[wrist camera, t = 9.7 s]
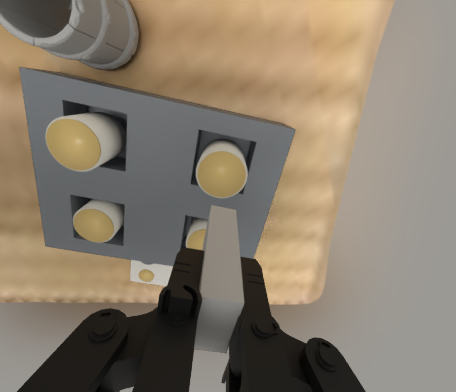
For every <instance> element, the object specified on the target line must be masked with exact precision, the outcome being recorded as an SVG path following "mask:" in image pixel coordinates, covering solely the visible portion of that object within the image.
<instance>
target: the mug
mask: <svg viewBox="0 0 456 392" xmlns="http://www.w3.org/2000/svg"><path fill="white" fill-rule="evenodd" d="M0 23H1V24H2V26H3V27H4V28H5V29H6V30H7V31H9V32H10V33H11V34H12V35H14V36H15V37H17V38H18V39H20V40H22V41H24V42H26V43H28V44H31V45H34V46H37V47H40V48H42V49H44V50H46V51H48V52H49V53H51V54H53V55H56V56H58V57H61V58H65V59H70V60H79V61H80V62H82V63H84V64H86V65H88V66H90V67H93V68H96V69H102V70H110V69H116V68H118V67H120V66H122V65H124V64H126V63H127V62H128V61H129V60H130V59H131V56H132V55H134V54H135V52H136V49H137V45H138V39H139V30H138V24H137V20H136V17H135V14H134V12H133V9H132V7H131V5H130V3H129V1H128V0H0Z"/></svg>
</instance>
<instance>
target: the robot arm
mask: <svg viewBox="0 0 456 392" xmlns="http://www.w3.org/2000/svg"><path fill="white" fill-rule="evenodd" d="M264 284H265V283H264V278H263V273H262V268H261V266H260V265H259V263H258V262H257V260H256V259H252V258H246V257H241V256H240V248H239V237H238V226H237V214H236V210H234V209H229V208H224V207H219V206H214V205H211V209H210V214H209V218H208V223H207V228H206V232H205V237H204V241H203V247H202V250H197V249H192V248H186V247H183V248H182V249H181V250H180V251H179V252H178V253H177V255H176V259H175V262H174V265H173V268H172V272H171V275H170V278H169V281H168V285H167V286H166V287H164V288H163V290H162V291H161V293H160V295H159V302H158V307H157V308H156V309H154V310H153V311H151V312H149V313H147V314H143V315H138V316H132V317H126V315H125V314H124V313H123V312H121V311H120V310H116V309H104V310H100V311H98V312H95V313H93V314H91V315H90V316H89V317H87V318H86V319H85V320H84V321H83V322H82V323H81V324H80V325H79V326H78V327H77V328H76V329H75V330H74V331H73V332H72V333H71V335H69V337H68V338H67V339H66V340H65V341H64V342H63V343H62V344H61V345H60V346H59V347H58V348H57V350H56V351H55V352H54V353H53V354H52V355H51V356H50V357H49V358H48V359H47V360H46V361H45V362H44V363H43V364H42V365H41V366H40V368H39V369H38V370H37V371H36V372H35V373H34V374H33V375H32V376H31V377H30V378H29V379H28V380H27V381H26V382H25V383H24V385H23V386H22V387H21V388H20V389H19V390H18V391H17V392H119V391H120V390H122V389H126V388H130V387H133V386H134V388H133V391H132V392H189V385H190V377H191V370H192V361H193V352H194V349H197V350H205V351H212V352H220V353H227V350H228V347H229V361H228V363H227V366H226V369H225V371H224V374H223V377H222V383H225V381H226V392H365V390H364V388H363V387H362V385H361V384H360V382H359V381H358V379H357V377H356V376H355V374H354V373H353V371H352V370H351V368H350V367H349V365H348V363H347V362H346V360H345V359H344V357H343V356H342V354H341V353H340V352H339V351H338V349H337V348H336V347H335V346H333V345H332V344H331V343H330V342H328V341H326V340H324V339H322V338H312V339H309V340H308V342H307V343H304V342H302V341H300V340H297V339H295V338H293V337H291V336H289V335H288V334H286V333H284V332H283V331H282V330H281V329H280V327H279V324H278V323H277V322H276V320H275V319H274V318H273V317H272V316H271V312H270V307H269V303H268V298H267V293H266V288H265V285H264Z"/></svg>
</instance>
